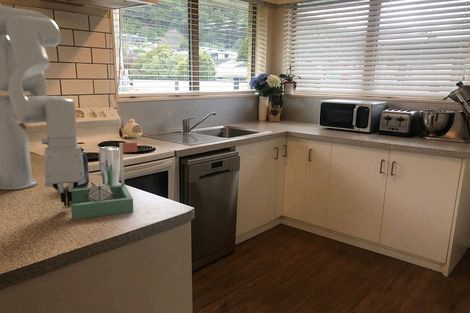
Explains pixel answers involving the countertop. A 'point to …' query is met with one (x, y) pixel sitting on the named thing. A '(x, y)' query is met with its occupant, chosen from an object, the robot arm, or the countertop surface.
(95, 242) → the countertop surface
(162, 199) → the countertop surface
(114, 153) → the beer glass
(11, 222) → the countertop surface
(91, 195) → the game die
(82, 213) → the green open box
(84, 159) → the soda can
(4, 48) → the robot arm
